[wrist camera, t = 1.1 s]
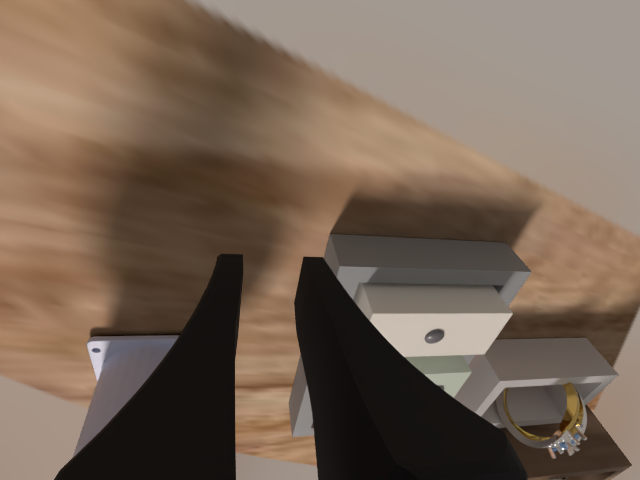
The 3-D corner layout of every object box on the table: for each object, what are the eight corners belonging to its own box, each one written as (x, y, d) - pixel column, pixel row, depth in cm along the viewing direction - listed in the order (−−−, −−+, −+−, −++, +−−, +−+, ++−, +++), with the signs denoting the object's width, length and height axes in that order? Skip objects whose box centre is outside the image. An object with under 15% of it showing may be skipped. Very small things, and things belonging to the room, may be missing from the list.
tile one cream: (463, 319, 27) (484, 355, 25) (345, 320, 25) (356, 359, 23) (487, 279, 25) (514, 314, 23) (359, 275, 23) (373, 315, 20)
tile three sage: (434, 368, 31) (450, 404, 28) (327, 372, 29) (335, 412, 26) (453, 337, 28) (472, 373, 26) (338, 339, 26) (348, 378, 24)
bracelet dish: (542, 385, 40) (566, 422, 37) (441, 391, 38) (459, 431, 34) (586, 337, 36) (619, 374, 33) (475, 339, 33) (499, 381, 30)
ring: (539, 341, 34) (604, 429, 28) (552, 353, 36) (617, 438, 30) (475, 380, 37) (522, 468, 31) (490, 389, 39) (538, 474, 32)
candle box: (514, 447, 50) (552, 518, 44) (419, 457, 47) (446, 535, 41) (574, 388, 42) (632, 465, 36) (464, 395, 39) (506, 481, 33)
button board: (415, 395, 37) (426, 426, 35) (288, 403, 34) (292, 436, 32) (505, 242, 26) (531, 271, 24) (329, 233, 23) (339, 266, 21)
